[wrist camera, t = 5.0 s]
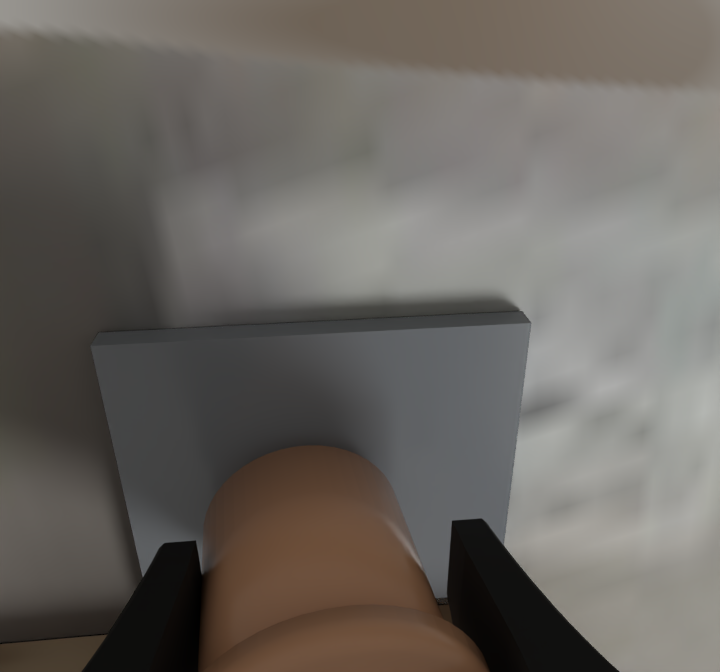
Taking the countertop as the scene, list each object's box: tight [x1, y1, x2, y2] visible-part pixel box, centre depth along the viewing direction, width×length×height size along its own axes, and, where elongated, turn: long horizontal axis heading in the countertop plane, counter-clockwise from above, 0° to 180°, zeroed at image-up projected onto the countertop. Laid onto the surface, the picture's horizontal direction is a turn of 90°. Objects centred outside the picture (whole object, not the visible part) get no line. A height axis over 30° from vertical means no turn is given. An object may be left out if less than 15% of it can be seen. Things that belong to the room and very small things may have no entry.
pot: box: [198, 445, 491, 672], centre depth 12 cm, size 5×5×6 cm
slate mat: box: [90, 311, 531, 598], centre depth 15 cm, size 9×8×1 cm
